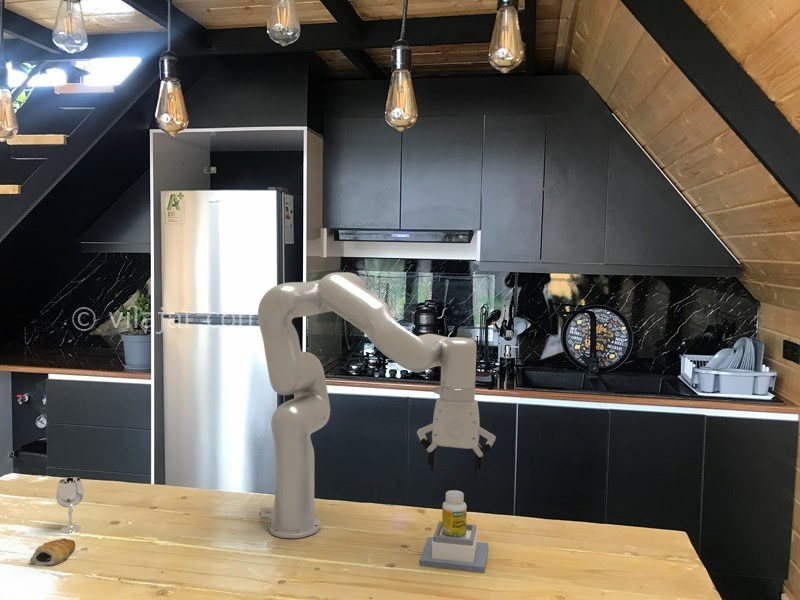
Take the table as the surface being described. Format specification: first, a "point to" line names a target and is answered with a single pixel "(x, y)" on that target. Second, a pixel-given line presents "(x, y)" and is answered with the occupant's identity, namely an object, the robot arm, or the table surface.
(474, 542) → the display stand
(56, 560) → the pastry
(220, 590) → the table surface
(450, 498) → the supplement bottle
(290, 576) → the table surface
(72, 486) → the wineglass
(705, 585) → the table surface
